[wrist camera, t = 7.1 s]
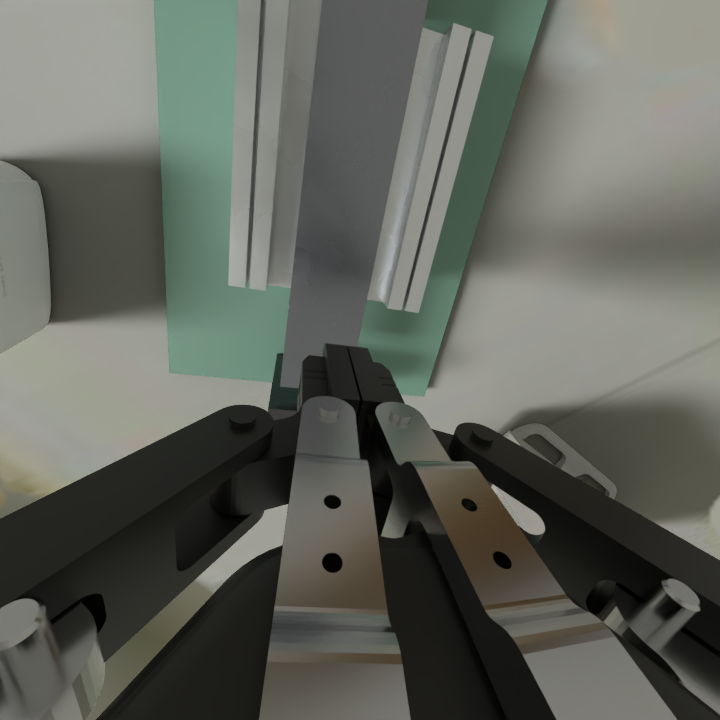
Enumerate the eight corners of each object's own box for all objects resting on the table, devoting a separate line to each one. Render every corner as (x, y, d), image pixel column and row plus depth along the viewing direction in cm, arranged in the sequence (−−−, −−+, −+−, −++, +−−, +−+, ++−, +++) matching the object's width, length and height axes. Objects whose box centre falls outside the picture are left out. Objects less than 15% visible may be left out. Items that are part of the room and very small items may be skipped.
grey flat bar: (332, -145, 12) (335, -182, 11) (446, -98, 13) (461, -127, 12) (277, 376, 21) (276, 388, 20) (349, 382, 22) (351, 394, 21)
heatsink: (265, -85, 16) (241, -260, 10) (460, -15, 19) (544, -121, 12) (240, 373, 27) (220, 434, 20) (368, 385, 29) (387, 444, 22)
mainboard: (155, -207, 15) (144, -237, 14) (551, -46, 19) (566, -59, 18) (174, 365, 27) (169, 372, 26) (420, 389, 31) (424, 396, 30)
